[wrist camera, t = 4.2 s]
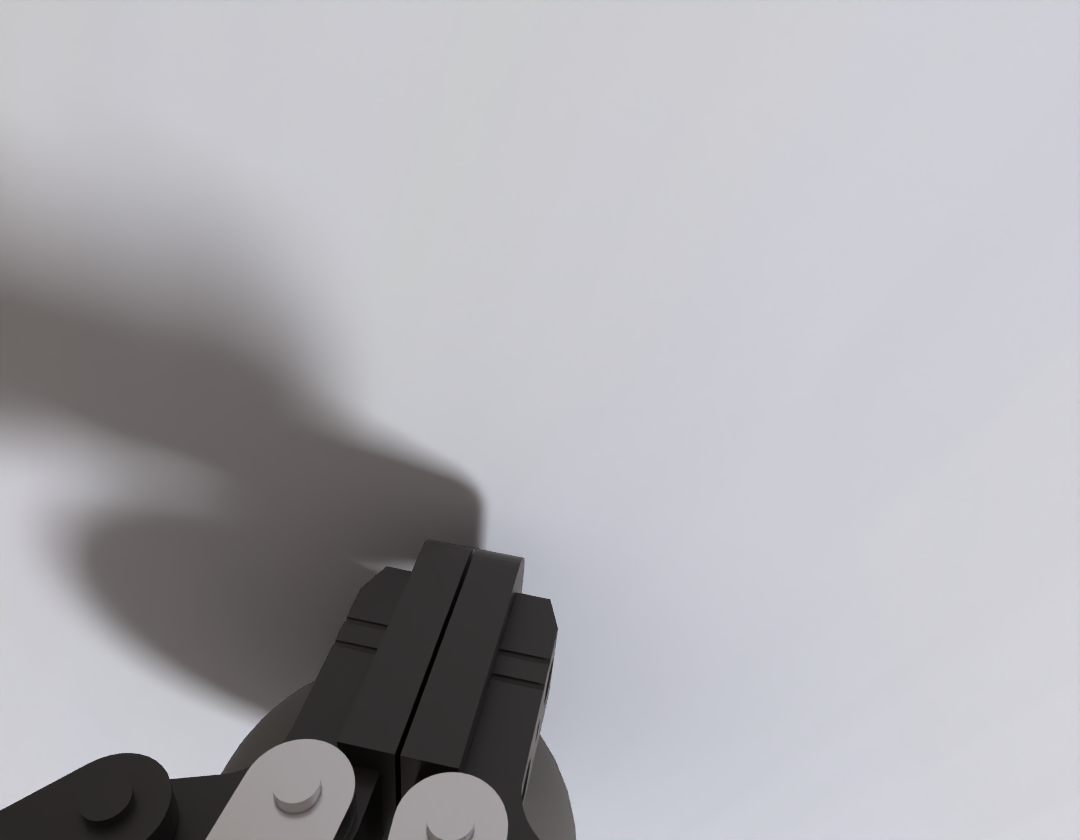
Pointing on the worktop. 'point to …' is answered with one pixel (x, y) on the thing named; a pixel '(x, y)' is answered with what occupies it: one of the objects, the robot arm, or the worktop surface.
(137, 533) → the worktop surface
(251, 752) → the dark gray ball
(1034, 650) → the worktop surface
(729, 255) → the worktop surface
